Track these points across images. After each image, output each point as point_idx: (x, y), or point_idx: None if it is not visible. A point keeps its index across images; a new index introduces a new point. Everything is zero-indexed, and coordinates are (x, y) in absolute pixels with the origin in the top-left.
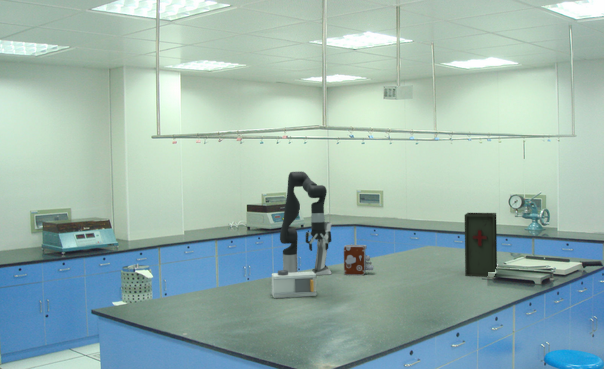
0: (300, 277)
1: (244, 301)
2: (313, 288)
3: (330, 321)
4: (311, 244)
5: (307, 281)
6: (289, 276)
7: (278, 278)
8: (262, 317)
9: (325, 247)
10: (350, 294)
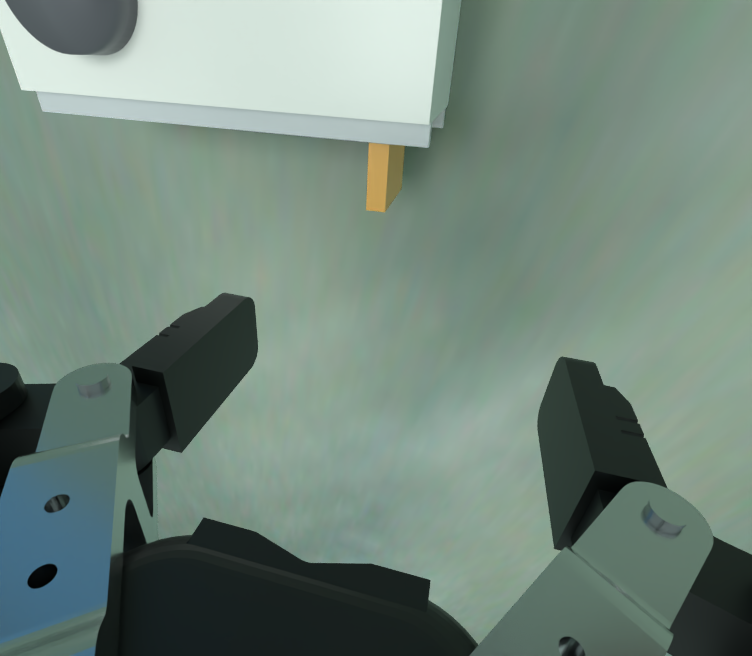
0: (270, 132)
1: (7, 119)
2: (395, 195)
3: (368, 530)
4: (173, 445)
5: None
6: (162, 100)
7: (79, 114)
8: None
9: (563, 400)
10: (731, 153)
